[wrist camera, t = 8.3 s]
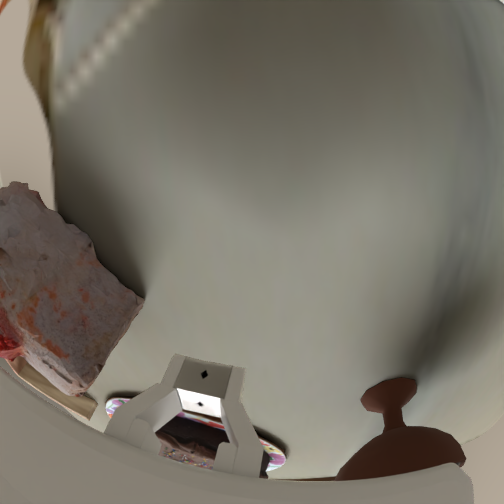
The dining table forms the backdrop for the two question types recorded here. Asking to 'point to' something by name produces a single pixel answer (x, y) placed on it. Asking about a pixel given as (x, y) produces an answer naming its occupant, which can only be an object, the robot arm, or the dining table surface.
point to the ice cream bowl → (399, 438)
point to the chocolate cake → (200, 439)
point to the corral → (52, 389)
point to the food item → (56, 294)
